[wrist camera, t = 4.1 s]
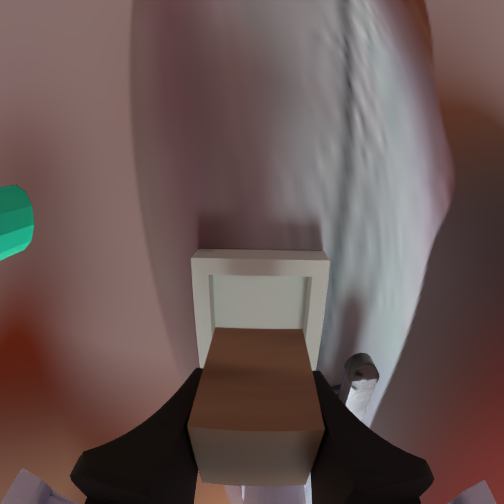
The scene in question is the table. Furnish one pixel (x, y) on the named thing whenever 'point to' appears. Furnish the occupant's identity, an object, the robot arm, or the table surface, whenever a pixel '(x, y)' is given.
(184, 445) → the robot arm
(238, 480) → the block
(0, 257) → the candle
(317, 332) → the tray
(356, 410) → the crank
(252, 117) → the table surface
